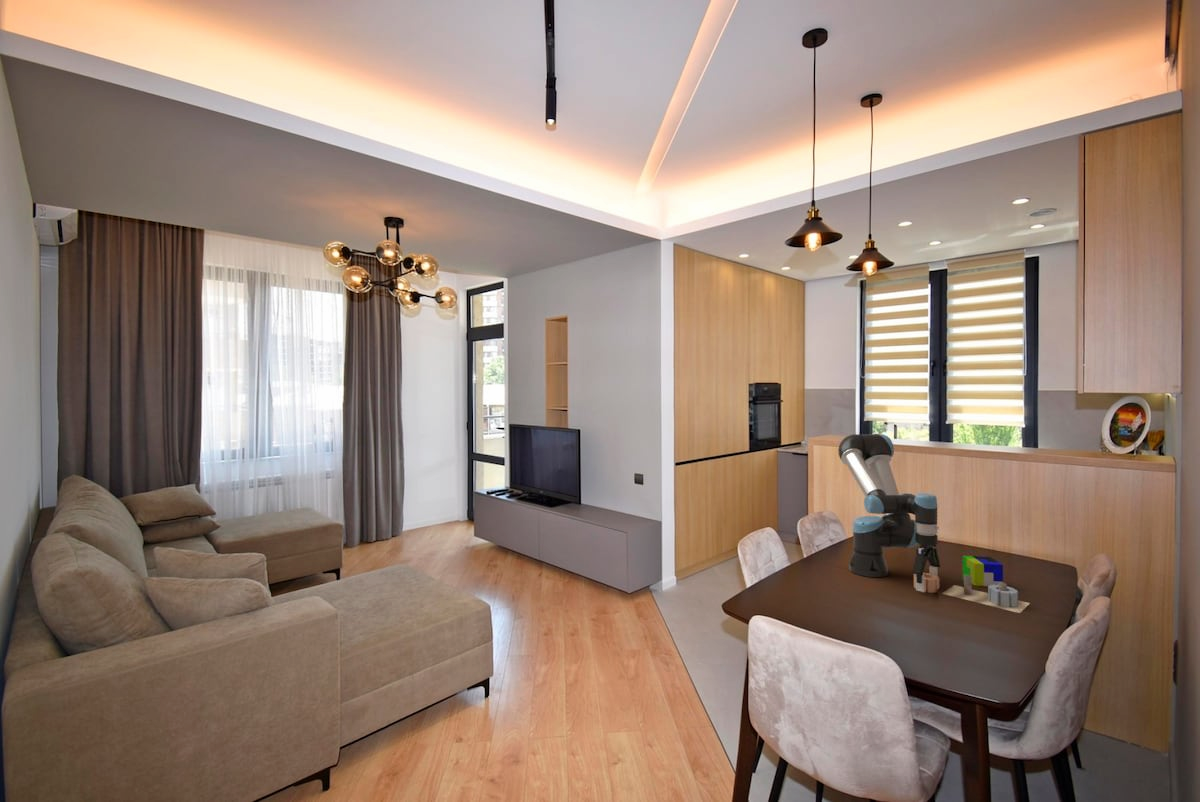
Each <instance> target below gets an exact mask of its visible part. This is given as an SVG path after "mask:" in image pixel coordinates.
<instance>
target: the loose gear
mask: <svg viewBox="0 0 1200 802" xmlns="http://www.w3.org/2000/svg"><path fill="white" fill-rule="evenodd" d="M923 575H924V592H923V593H926V592H927V593H931V594H932V593H933V594H934V593H938V592H939V591H938V590H939V589H940V576H936V575H934V574H930V573H929V572H924V573H923ZM913 589H916V574H914V573H913Z"/></svg>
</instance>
